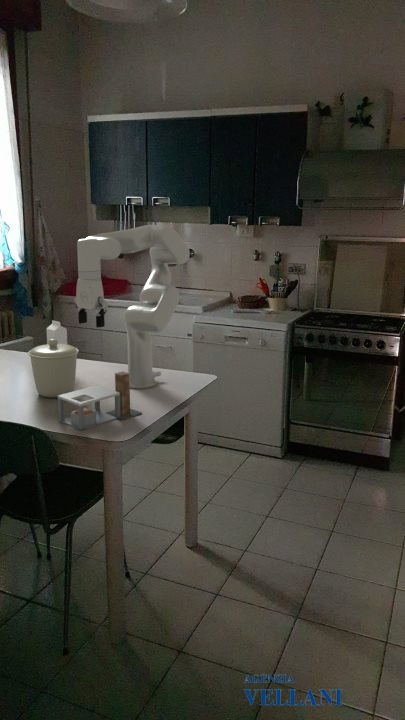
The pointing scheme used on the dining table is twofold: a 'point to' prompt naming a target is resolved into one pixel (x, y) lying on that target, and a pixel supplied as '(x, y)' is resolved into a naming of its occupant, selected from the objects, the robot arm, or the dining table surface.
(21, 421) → the dining table surface
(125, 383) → the brown wooden bar
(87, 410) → the breaker button
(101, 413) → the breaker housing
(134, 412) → the pad
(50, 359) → the canister
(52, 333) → the milk
